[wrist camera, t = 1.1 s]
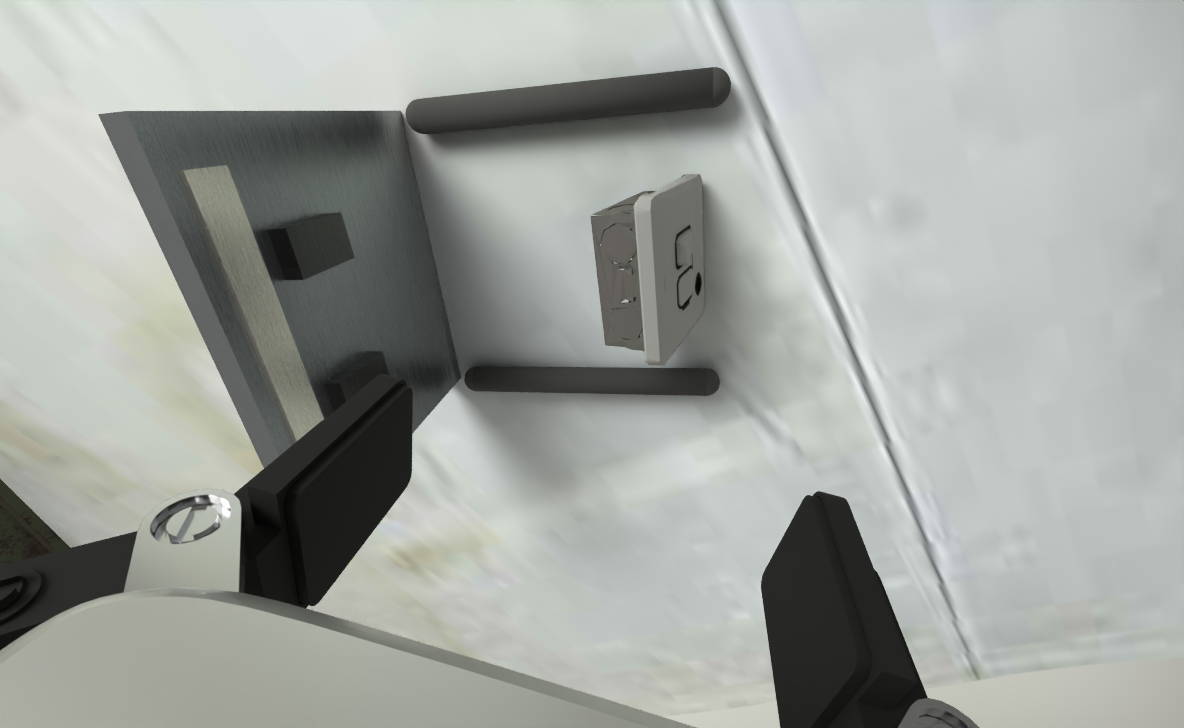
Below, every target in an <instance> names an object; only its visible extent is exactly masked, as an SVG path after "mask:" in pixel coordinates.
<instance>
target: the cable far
mask: <svg viewBox="0 0 1184 728" xmlns="http://www.w3.org/2000/svg"><path fill="white" fill-rule="evenodd" d="M465 384H466V385H467V387H468V388H469V389H471V390H473V391H494V392H544V393H594V394H644V395H694V396H708V395H712V394H714V393H715V392H716V391H717V390H718V388H719V385H720V380H719V377H718V375H717V374H716V372H714V371H713V370H711V369H700V368H593V367H487V366H476V367H472V368H470V369H469V370H468V371H467V372H466V374H465Z"/></svg>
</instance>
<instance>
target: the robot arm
mask: <svg viewBox="0 0 1184 728" xmlns="http://www.w3.org/2000/svg"><path fill="white" fill-rule="evenodd" d="M412 414H413V391H412V389H411V388H410V387H407V383H406V381H405V380H404V379H400V378H396V377H392V376H389V375H385V374H379V375H377V376H376V377H375V378H374V379H373V380H371V381H370V382H369V383H368V384H367V385H365V386H364V387H363V388H362V389H361V390H359V391H358V392H357V393H356V394H355V395H354V396H352V397H351V398H350V399H349V400H348V401H346V402H345V403H344V404H343V405H342V406H340V407H339V408H338V409H337V410H336V411H335V412H333V413H332V414H331V415H330V416H329V417H327V418H326V419H324V420H322V421H321V422H319V423H318V424H317V425H316V426H315V427H313V428H312V429H311V430H310V431H309V432H307V433H306V434H305V435H304V436H303V437H301V438H300V439H299V440H298V441H297V442H296V443H294V444H293V445H292V446H291V447H290V448H288V449H287V450H286V451H285V452H284V453H282V454H281V455H280V456H279V457H278V458H276V459H275V460H274V461H273V462H272V463H270V464H269V465H268V466H267V467H266V468H264V469H263V470H262V471H261V472H260V473H259V474H257V475H256V476H255V477H254V478H253V479H251V480H250V481H249V482H248V483H247V484H245V485H244V486H243V487H242V488H241V489H239V490H238V491H237V492H236V493H235V494H232V493H230V492H227V491H224V490H218V489H202V490H194V491H190V492H186V493H183V494H179V495H177V496H175V497H173V498H170V499H168V500H166V501H164V502H163V503H161V504H159V505H158V506H156V507H155V508H153V509H152V510H151V511H150V512H149V513H148V514H147V515H146V516H145V517H144V518H143V520H142V522H141V524H140V526H139V528H138V531H136V532H132V533H128V534H124V535H120V536H116V537H113V538H109V539H105V540H101V541H97V542H93V543H89V544H85V545H81V546H77V547H73V548H69V549H65V550H61V551H57V552H53V553H49V554H45V555H41V556H37V557H33V558H29V559H25V560H21V561H17V562H13V563H9V564H5V565H1V566H0V728H696V727H693V726H690V725H686V724H683V723H680V722H677V721H674V720H670V719H667V718H664V717H661V716H658V715H655V714H651V713H648V712H645V711H642V710H639V709H636V708H632V707H629V706H626V705H623V704H620V703H616V702H613V701H610V700H607V699H604V698H600V697H597V696H594V695H591V694H587V693H584V692H581V691H578V690H575V689H571V688H568V687H565V686H562V685H558V684H555V683H552V682H549V681H545V680H542V679H539V678H536V677H532V676H529V675H526V674H523V673H519V672H516V671H513V670H510V669H506V668H503V667H500V666H497V665H493V664H490V663H487V662H484V661H480V660H477V659H474V658H471V657H467V656H464V655H461V654H457V653H454V652H451V651H447V650H444V649H441V648H438V647H434V646H431V645H428V644H424V643H421V642H418V641H414V640H411V639H408V638H404V637H401V636H398V635H394V634H391V633H388V632H385V631H381V630H378V629H375V628H371V627H368V626H365V625H361V624H358V623H355V622H351V621H348V620H344V619H341V618H337V617H334V616H330V615H327V614H323V613H319V612H316V611H312V610H309V609H306V608H307V607H308V605H310V606H315V605H316V604H317V603H319V601H320V600H321V599H322V598H323V596H324V595H325V594H326V593H327V591H328V590H329V589H330V587H331V586H332V585H333V583H334V582H335V581H336V579H337V578H338V577H339V575H340V574H341V573H342V571H343V570H344V569H345V568H346V566H347V565H348V564H349V562H350V561H351V560H352V558H353V557H354V556H355V554H356V553H357V552H358V550H359V549H360V548H361V546H362V545H363V544H364V543H365V541H366V540H367V539H368V537H369V536H370V535H371V533H372V532H373V531H374V529H375V528H376V527H377V525H378V524H379V523H380V521H381V520H382V519H383V518H384V516H385V515H386V514H387V512H388V511H389V510H390V508H391V507H392V506H393V504H394V503H395V502H396V500H397V499H398V498H399V496H400V495H401V494H402V493H403V491H404V490H405V489H406V487H407V485H408V483H409V481H410V478H411V473H412ZM761 591H762V598H763V605H764V613H765V620H766V627H767V634H768V641H769V649H770V656H771V663H772V670H773V677H774V685H775V692H776V699H777V706H778V713H779V720H780V727H781V728H979V727H978V726H977V725H976V724H975V723H974V722H973V721H972V720H971V719H970V718H968V717H967V716H965V715H964V714H963V713H961V712H960V711H959V710H957V709H956V708H954V707H952V706H950V705H948V704H946V703H944V702H942V701H939V700H934V699H930V698H927V695H926V693H925V690H924V687H923V685H922V682H921V680H920V677H919V675H918V672H917V670H916V667H915V665H914V662H913V660H912V657H911V655H910V652H909V650H908V647H907V644H906V642H905V639H904V637H903V634H902V632H901V629H900V627H899V624H898V622H897V619H896V617H895V614H894V612H893V609H892V607H891V604H890V602H889V599H888V596H887V594H886V591H885V589H884V586H883V584H882V581H881V579H880V577H879V575H878V573H877V572H876V571H875V570H874V568H873V565H872V563H871V560H870V558H869V555H868V553H867V550H866V547H865V545H864V542H863V540H862V537H861V535H860V532H859V529H858V527H857V524H856V522H855V519H854V517H853V514H852V512H851V509H850V506H849V504H848V502H847V500H846V499H845V498H842V497H839V496H835V495H831V494H827V493H824V492H820V491H819V492H816V493H815V494H814V495H813V496H810V495H807V496H806V497H805V498H804V499H803V501H802V503H801V505H800V507H799V508H798V510H797V512H796V514H795V516H794V518H793V519H792V521H791V523H790V525H789V527H788V529H787V531H786V532H785V534H784V536H783V538H782V540H781V542H780V543H779V545H778V547H777V549H776V551H775V553H774V554H773V556H772V558H771V560H770V562H769V564H768V566H767V567H766V569H765V571H764V573H763V576H762V581H761Z"/></svg>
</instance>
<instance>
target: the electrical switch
mask: <svg viewBox="0 0 1184 728" xmlns="http://www.w3.org/2000/svg"><path fill="white" fill-rule="evenodd" d="M592 215H601V216H591V224H592V233H593V241H594V250H595V259H596V267H597V276H598V285H599V294H600V302H601V311H602V320H603V328H604V337H605V345H609V346H620V347H626V348H629V349H632V350H642V351H645V361H646V362H647V363H648V364H649V365H664V364H665V363H666V362H667V360H668V359H669V358H670V356H671V355H672V354H673V352H674V351H675V350H676V348H677V347H678V346H679V345H680V343H681V342H682V341H683V339H684V338H685V337H686V335H687V334H688V333H689V331H690V330H691V329H692V328H693V326H694V325H695V324H696V322H697V321H698V320H699V318H700V317H701V316H702V314H703V310H704V305H705V300H704V245H703V191H702V179H701V176H700V174H686V175H683V176H682V177H681V178H679V179H677V180H675V181H674V182H672V183H670V184H668V185H666V186H665V187H663V188H661V189H659V190H657V191H644V192H641V193H639V194H637V195H635V196H632V197H630V198H628V199H626V200H623V201H621V202H619V203H617V204H615V205H612V206H610V207H608V208H606V209H604V210H601V211H599V212H597V213H595V214H592ZM611 225H612V226H611ZM609 226H610V227H609ZM606 228H607V229H606ZM628 228H630V229H628ZM600 244H601V246H600ZM632 257H633V258H632ZM631 258H632V260H630V259H631ZM613 262H616V263H617V264H614V263H613ZM623 268H625V269H624V271H623V270H619V269H623ZM625 299H627V300H629V302H628V303H621V302H622V301H623V300H625ZM612 310H613V311H612ZM610 327H611V329H610Z"/></svg>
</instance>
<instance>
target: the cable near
mask: <svg viewBox="0 0 1184 728" xmlns="http://www.w3.org/2000/svg"><path fill="white" fill-rule="evenodd" d="M730 88H731V82H730V78H729V76H728V74H727V73H726V72H725V71H724V70H723V69H721V68H717V67H712V68H702V69H693V70H684V71H674V72H665V73H656V74H647V75H637V76H628V77H619V78H609V79H600V80H591V81H581V82H572V83H563V84H554V85H544V86H535V87H526V88H516V89H507V90H498V91H489V92H479V93H470V94H461V95H451V96H442V97H433V98H424V99H416V100H414V101H412V102H411V103H410V104H409V105H408V107H407V109H406V119H407V122H408V124H409V125H410V127H411V128H412V129H413V130H414V131H416V132H418V133H421V134H431V133H442V132H453V131H463V130H474V129H485V128H496V127H507V126H518V125H529V124H540V123H550V122H561V121H572V120H583V119H594V118H605V117H616V116H626V115H637V114H648V113H659V112H670V111H681V110H692V109H703V108H713V107H717V106H719V105H720V104H722V103H723V102H724V101H725V100H726V98H727V97H728V95H729V92H730Z"/></svg>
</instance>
